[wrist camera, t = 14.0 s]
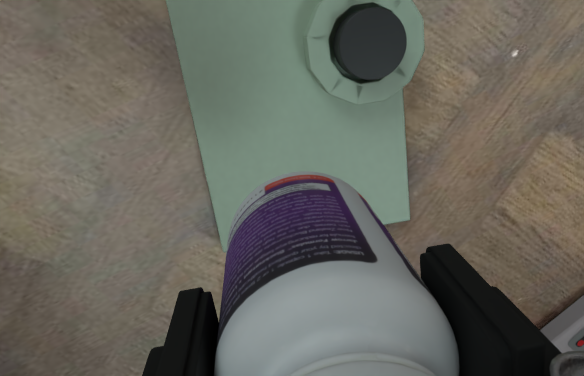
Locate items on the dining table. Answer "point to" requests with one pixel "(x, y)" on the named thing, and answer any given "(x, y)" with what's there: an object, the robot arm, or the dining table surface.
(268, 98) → the green dial board
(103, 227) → the dining table surface
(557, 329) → the remote control
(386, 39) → the tare button
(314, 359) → the pill bottle
